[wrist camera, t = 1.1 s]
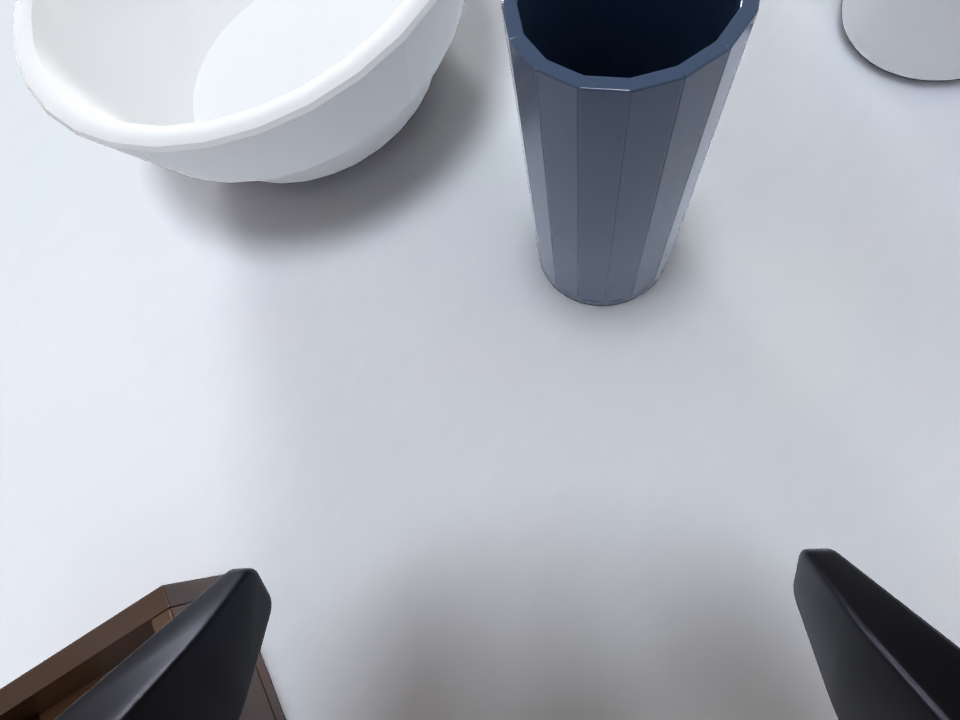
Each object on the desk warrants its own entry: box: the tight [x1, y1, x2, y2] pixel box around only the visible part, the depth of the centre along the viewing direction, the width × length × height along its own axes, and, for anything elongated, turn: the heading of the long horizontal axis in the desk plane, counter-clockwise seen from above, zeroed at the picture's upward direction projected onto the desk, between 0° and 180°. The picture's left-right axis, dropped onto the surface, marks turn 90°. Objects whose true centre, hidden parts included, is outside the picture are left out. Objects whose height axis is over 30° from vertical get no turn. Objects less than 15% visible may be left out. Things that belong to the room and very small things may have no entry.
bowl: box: [13, 0, 464, 183], centre depth 27 cm, size 22×22×8 cm
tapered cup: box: [501, 0, 760, 305], centre depth 19 cm, size 6×6×13 cm
